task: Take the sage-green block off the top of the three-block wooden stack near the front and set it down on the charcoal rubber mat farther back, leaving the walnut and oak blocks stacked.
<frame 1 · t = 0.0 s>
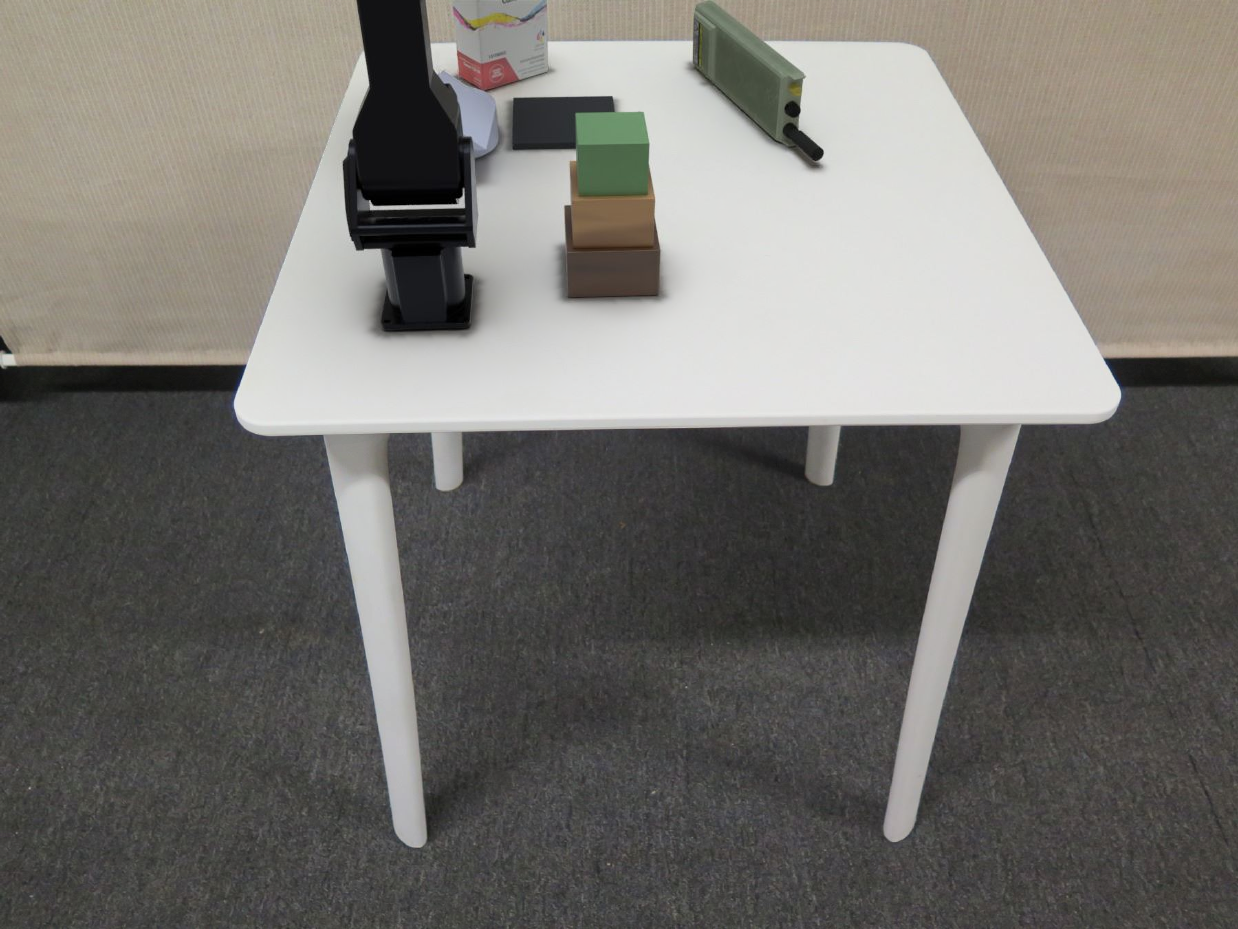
green block: (611, 178, 75), point 8 cm above the table, touching oak block
mat: (564, 124, 99), on the table
ink cartridge box: (505, 76, 107), on the table
oak block: (610, 226, 78), point 4 cm above the table, touching green block, walnut block
walnut block: (610, 271, 80), on the table, touching oak block
handheld radio: (753, 113, 101), on the table
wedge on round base: (448, 151, 95), on the table
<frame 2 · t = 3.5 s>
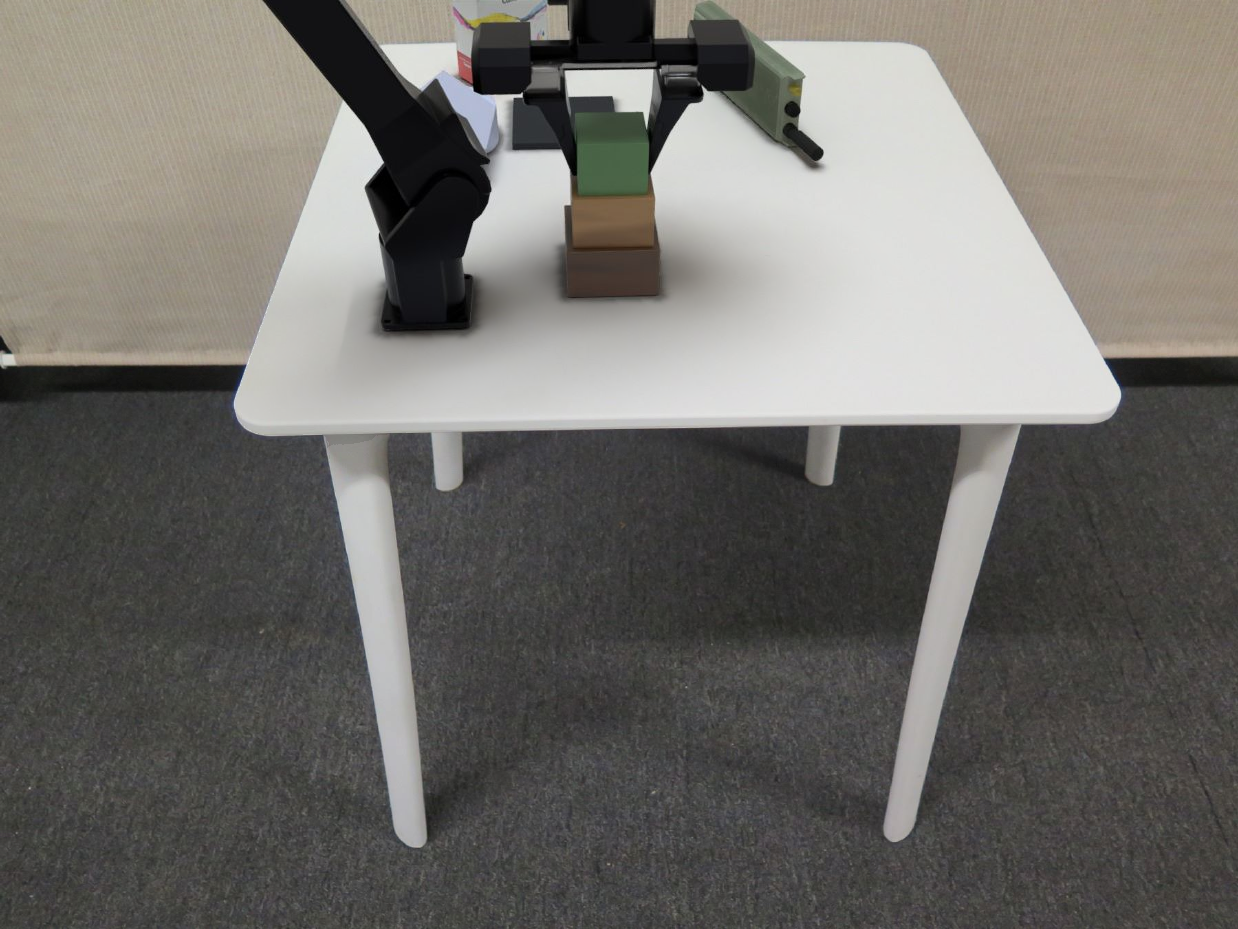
hand: (611, 172, 74), 9 cm above the table, tool pointing down, fingers closed on green block, 5 cm apart
green block: (610, 178, 75), point 8 cm above the table, touching gripper, oak block
everything else where it was.
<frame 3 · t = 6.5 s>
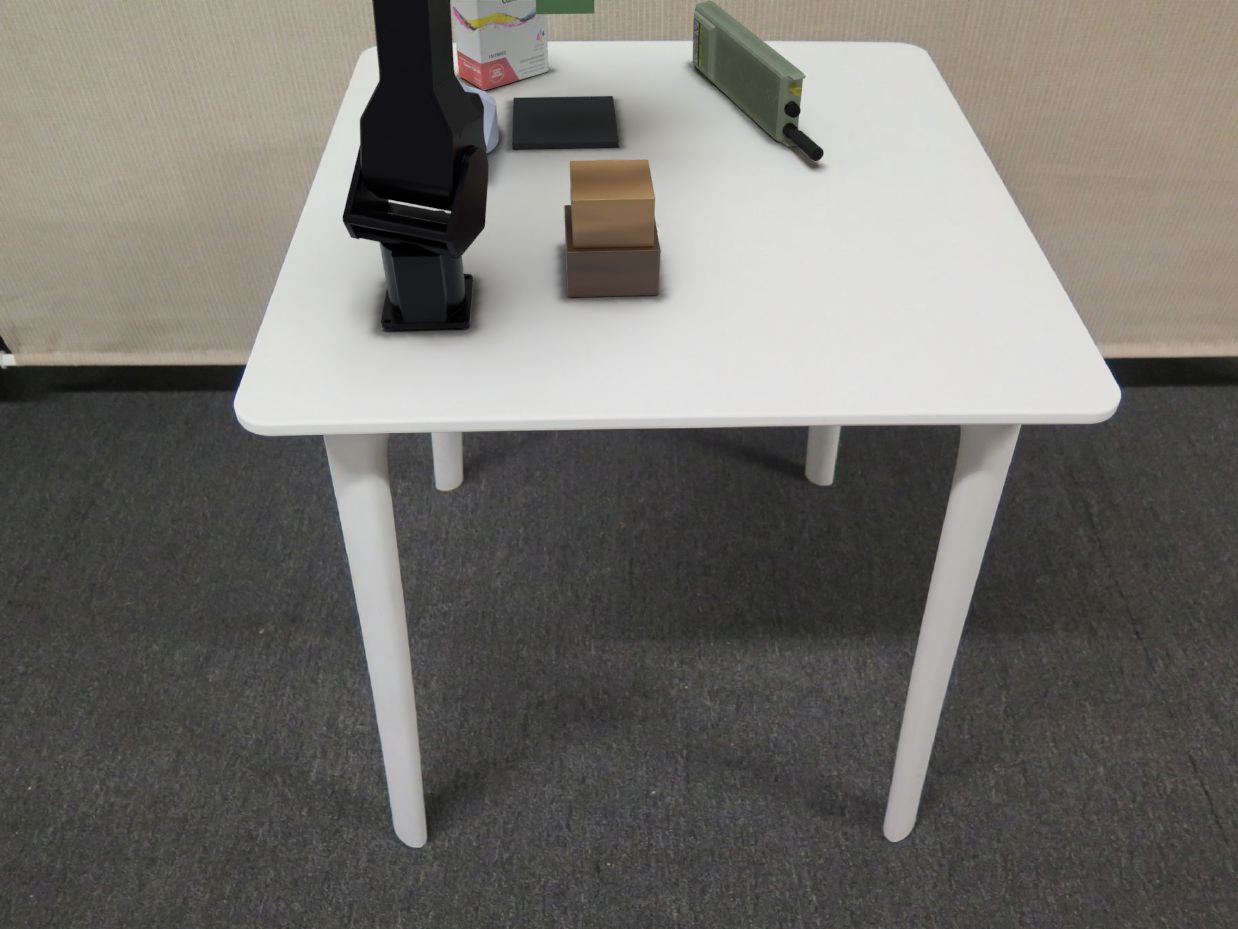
green block: (564, 3, 89), point 12 cm above the table, touching gripper
oak block: (611, 226, 78), point 4 cm above the table, touching walnut block
everything else where it was.
when the fingers open (1 cm above the table, at t = 9.7 s): green block stays where it is, resting on mat.
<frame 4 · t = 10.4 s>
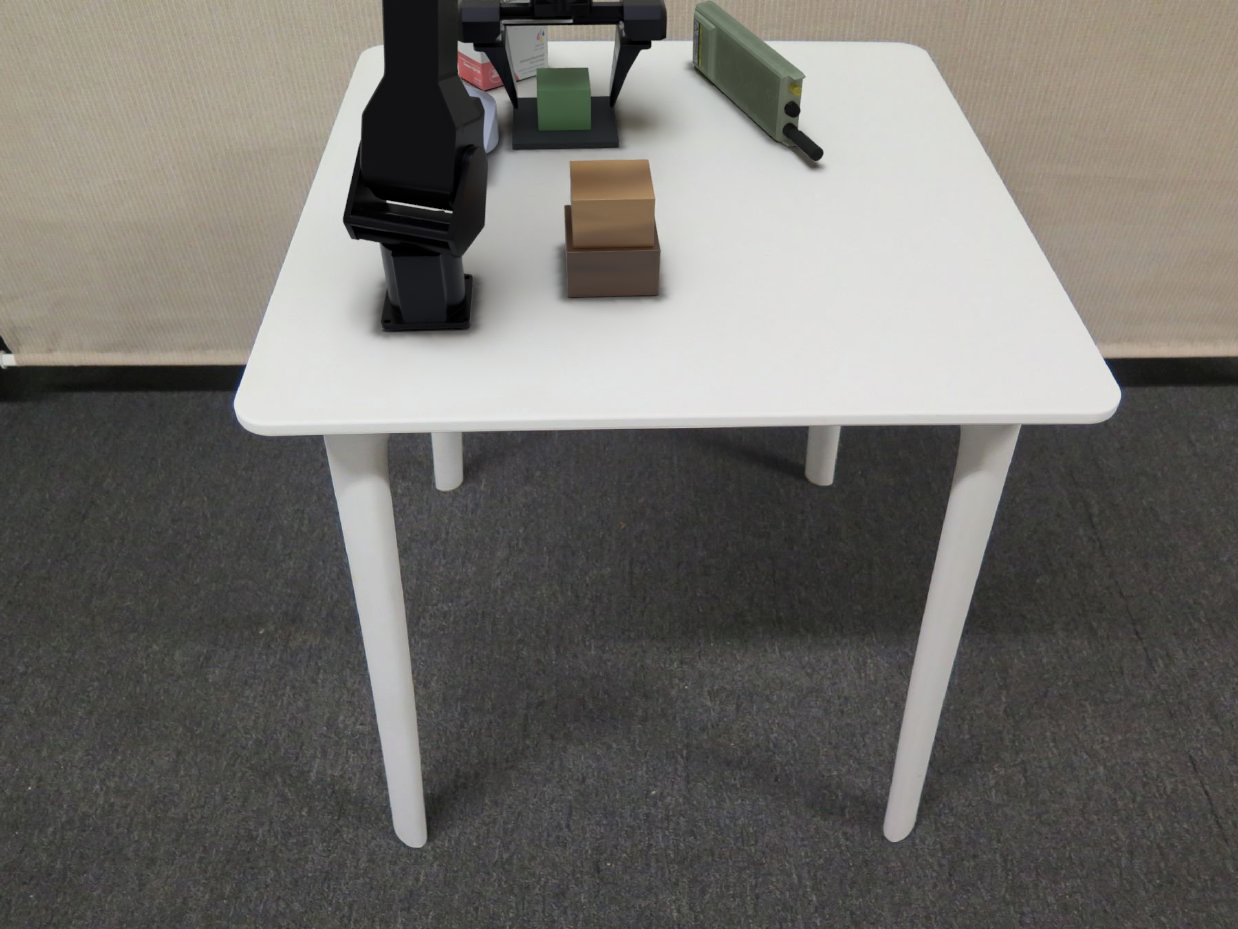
hand: (564, 106, 98), 2 cm above the table, tool pointing down, fingers open, 9 cm apart
green block: (564, 118, 98), point 1 cm above the table, touching mat
everything else where it was.
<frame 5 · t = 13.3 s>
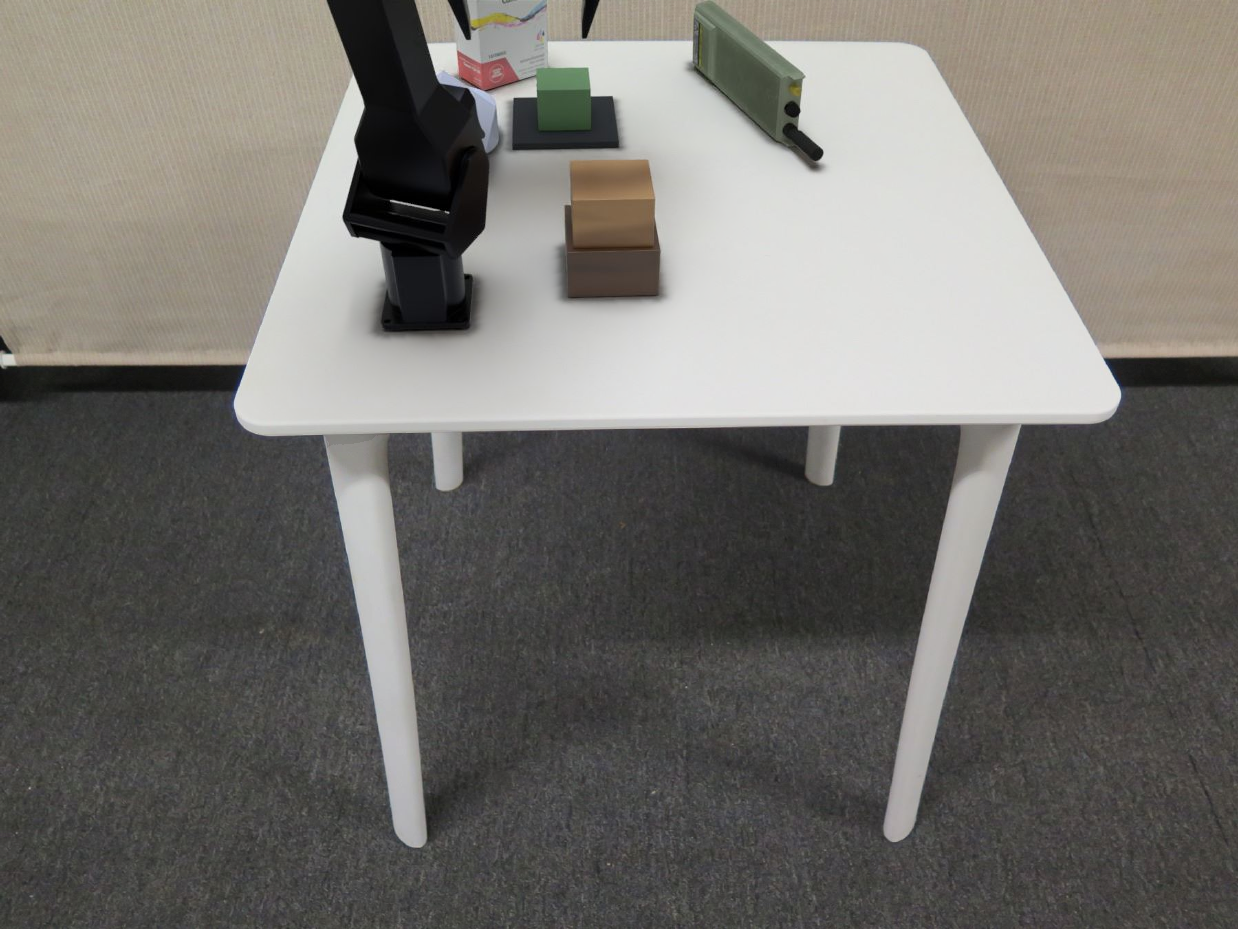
hand: (526, 37, 81), 13 cm above the table, tool pointing down, fingers open, 9 cm apart
nothing on the table moved.
at the end: green block inside the target area on the mat (0.1 cm from its centre), point 0.6 cm above the mat's base; green block tilted 0°; oak block moved 0.0 cm from its start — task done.
